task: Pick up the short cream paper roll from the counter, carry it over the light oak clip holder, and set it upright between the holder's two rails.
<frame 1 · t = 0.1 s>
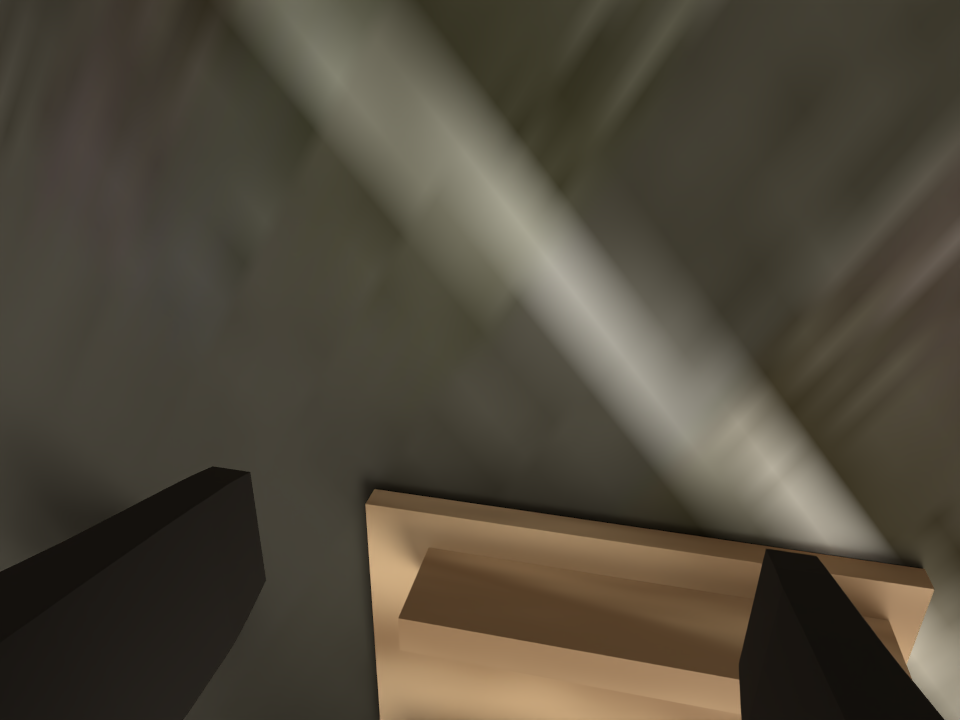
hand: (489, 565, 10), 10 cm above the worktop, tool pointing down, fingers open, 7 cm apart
clip holder: (611, 670, 24), on the worktop
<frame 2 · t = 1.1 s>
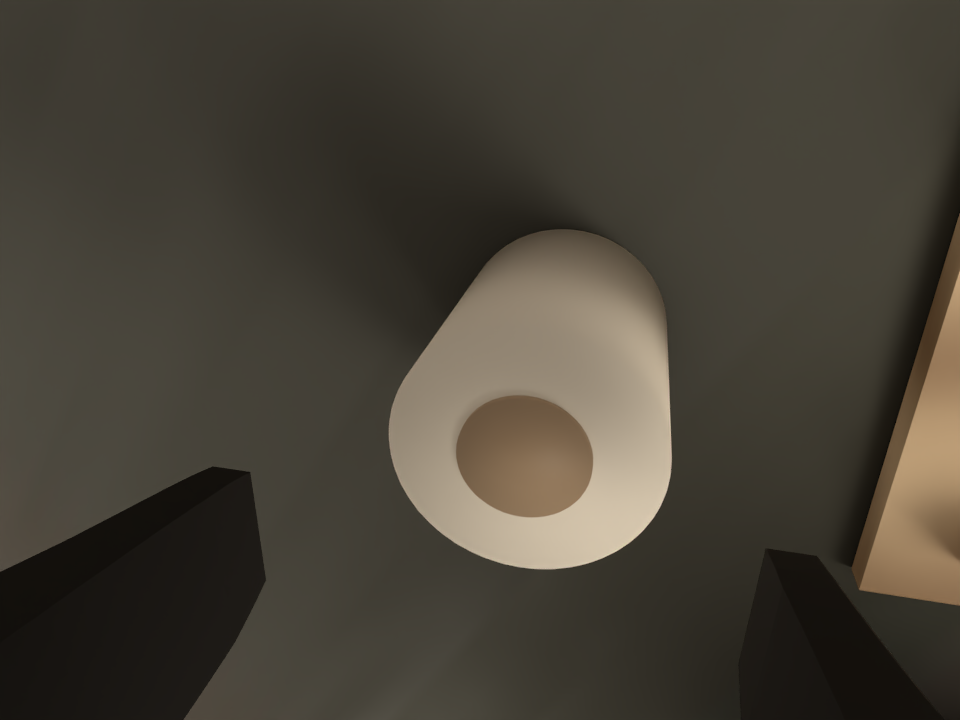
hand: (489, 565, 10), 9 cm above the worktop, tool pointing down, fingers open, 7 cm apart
paper roll: (563, 327, 18), on the worktop
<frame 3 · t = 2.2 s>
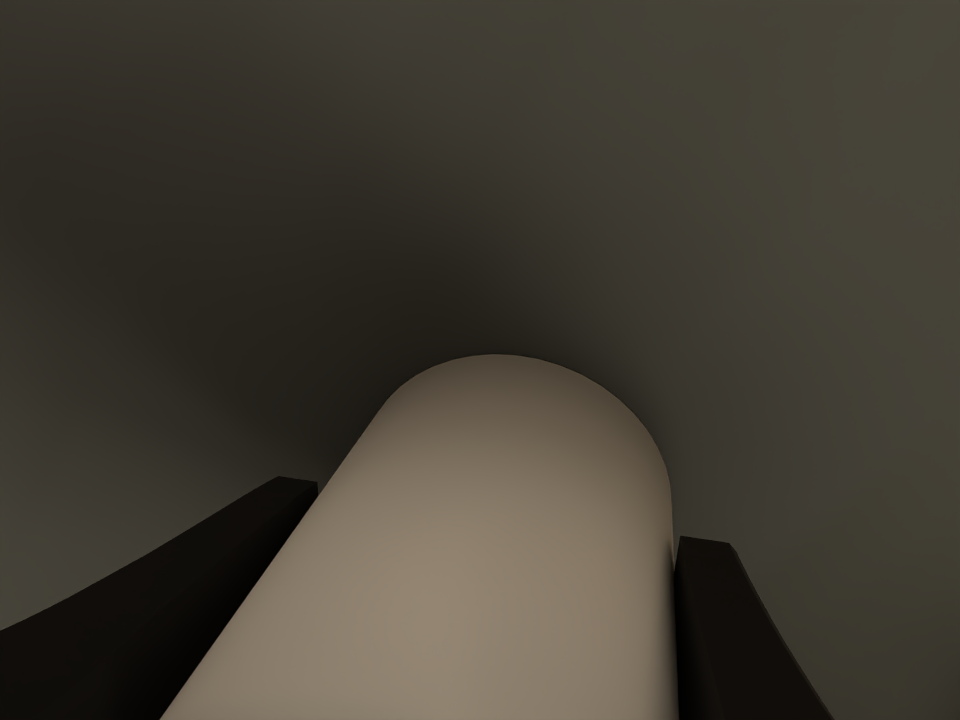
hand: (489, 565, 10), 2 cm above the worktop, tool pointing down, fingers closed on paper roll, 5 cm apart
paper roll: (509, 496, 11), on the worktop, touching gripper
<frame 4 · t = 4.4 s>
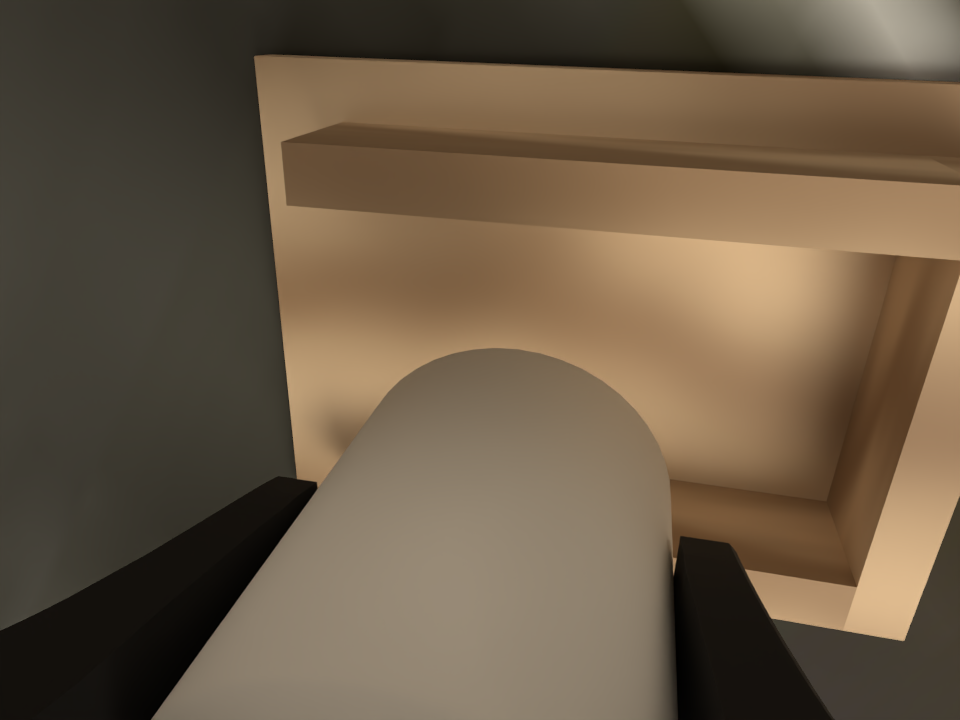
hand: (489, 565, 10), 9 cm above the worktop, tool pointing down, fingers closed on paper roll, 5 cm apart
paper roll: (509, 491, 11), point 7 cm above the worktop, touching gripper
clip holder: (594, 329, 18), on the worktop
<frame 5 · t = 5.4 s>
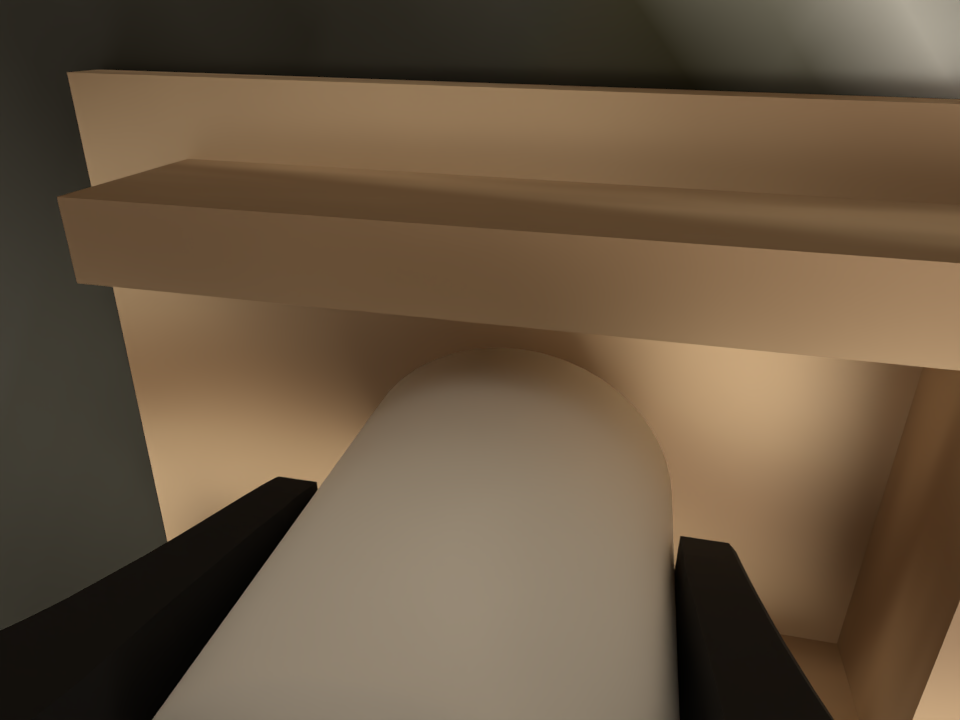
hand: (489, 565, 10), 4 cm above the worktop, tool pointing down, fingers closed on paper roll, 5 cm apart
paper roll: (510, 490, 11), point 2 cm above the worktop, touching gripper
clip holder: (533, 420, 14), on the worktop
when the fingers open (4 cm above the worktop, at t = 6.4 s): paper roll drops 1 cm, resting on clip holder.
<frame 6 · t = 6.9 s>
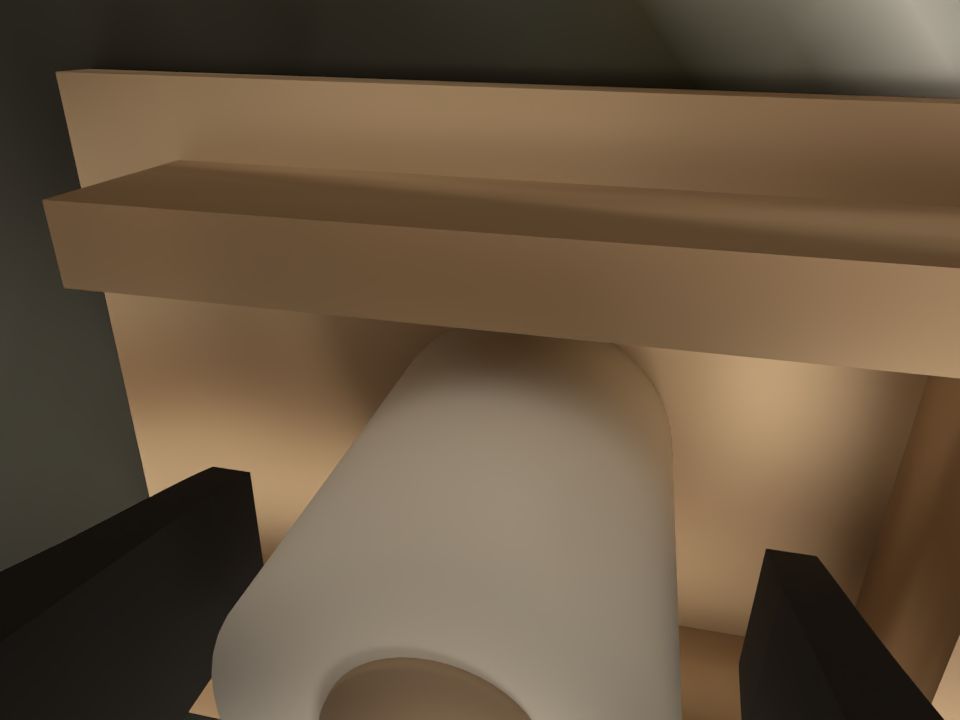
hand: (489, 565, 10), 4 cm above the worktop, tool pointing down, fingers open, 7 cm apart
paper roll: (526, 444, 13), point 1 cm above the worktop, touching clip holder
clip holder: (531, 425, 13), on the worktop
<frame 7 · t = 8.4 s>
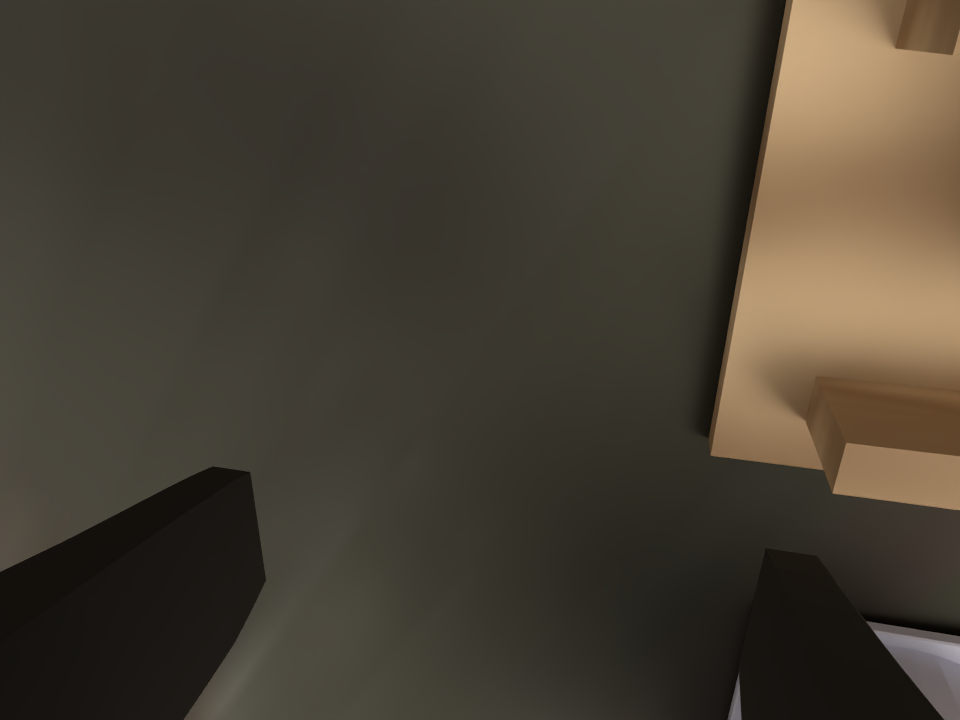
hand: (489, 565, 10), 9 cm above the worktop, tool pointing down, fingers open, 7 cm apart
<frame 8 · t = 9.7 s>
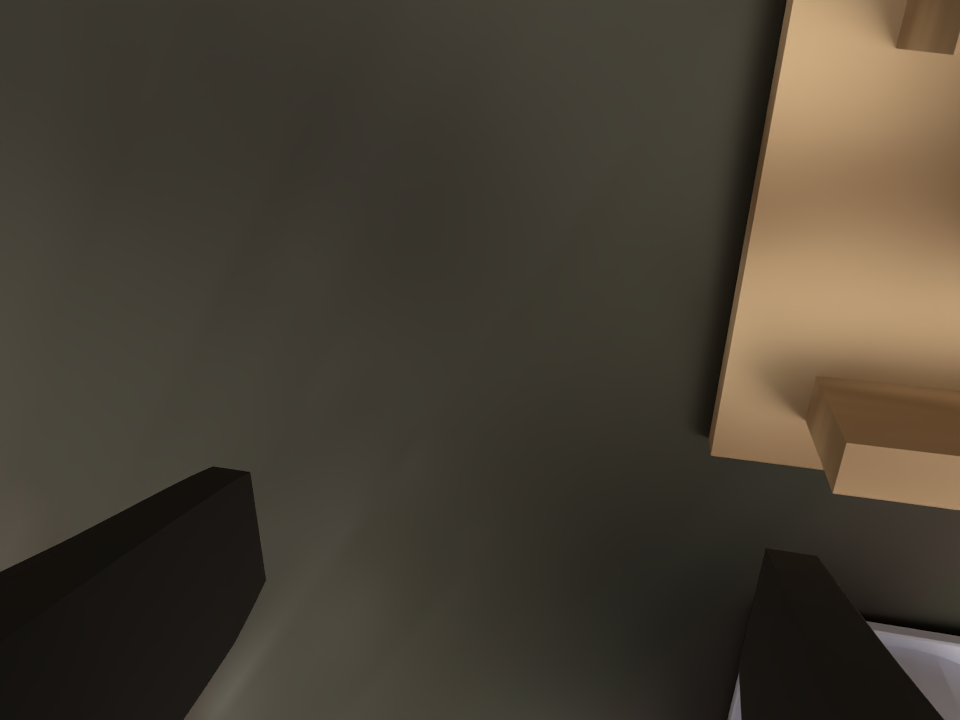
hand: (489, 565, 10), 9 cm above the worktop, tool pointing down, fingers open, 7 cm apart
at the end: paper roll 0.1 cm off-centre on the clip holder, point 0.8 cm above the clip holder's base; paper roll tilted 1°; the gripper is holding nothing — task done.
